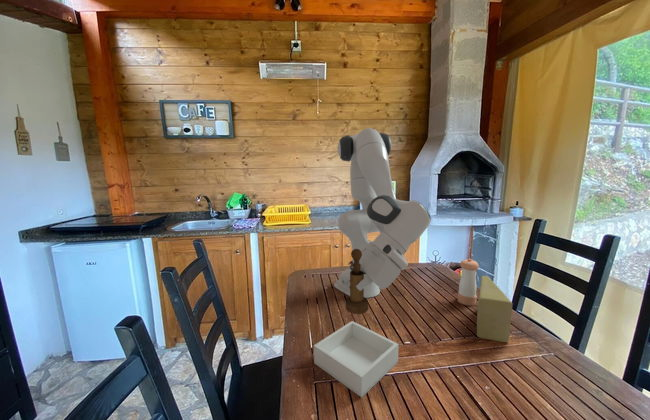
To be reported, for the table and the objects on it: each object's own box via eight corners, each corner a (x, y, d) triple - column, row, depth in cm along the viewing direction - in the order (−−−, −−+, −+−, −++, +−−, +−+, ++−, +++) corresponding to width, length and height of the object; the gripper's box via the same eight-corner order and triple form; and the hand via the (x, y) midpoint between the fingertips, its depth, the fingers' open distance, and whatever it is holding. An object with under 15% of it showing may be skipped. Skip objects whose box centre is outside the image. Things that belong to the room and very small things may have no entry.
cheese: (468, 306, 116) (471, 272, 113) (495, 310, 112) (498, 275, 110) (475, 337, 95) (479, 297, 93) (509, 344, 92) (513, 302, 89)
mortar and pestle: (368, 315, 78) (367, 253, 75) (344, 313, 79) (343, 253, 76) (368, 303, 84) (368, 246, 81) (347, 302, 85) (346, 245, 82)
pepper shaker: (471, 297, 123) (475, 256, 120) (479, 306, 116) (482, 262, 113) (454, 297, 124) (457, 255, 121) (461, 305, 117) (464, 261, 113)
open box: (314, 363, 84) (313, 345, 83) (352, 336, 97) (352, 320, 96) (361, 397, 72) (361, 377, 71) (398, 362, 84) (398, 344, 83)
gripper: (367, 233, 90) (337, 264, 89) (395, 253, 70) (358, 293, 70) (379, 245, 91) (351, 276, 91) (411, 268, 71) (375, 308, 71)
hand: (354, 284), depth 80 cm, fingers closed on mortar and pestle, 4 cm apart
